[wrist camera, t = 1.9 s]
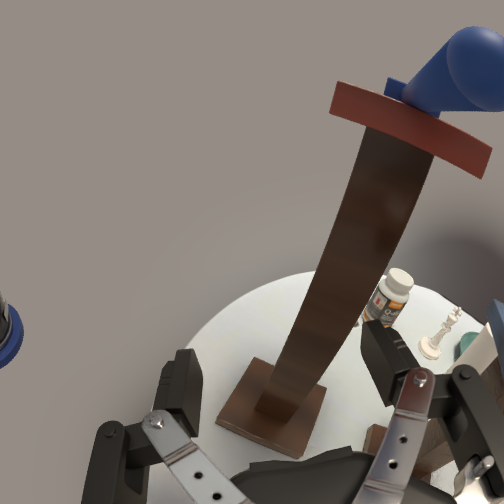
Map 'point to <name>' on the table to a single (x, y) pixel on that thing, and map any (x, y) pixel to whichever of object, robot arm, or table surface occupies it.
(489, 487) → the robot arm
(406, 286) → the pill bottle
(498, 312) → the blue-topped display stand
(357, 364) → the table surface
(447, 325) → the chess piece
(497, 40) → the blue rod with block
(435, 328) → the table surface
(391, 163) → the wooden pedestal stand
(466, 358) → the tube
